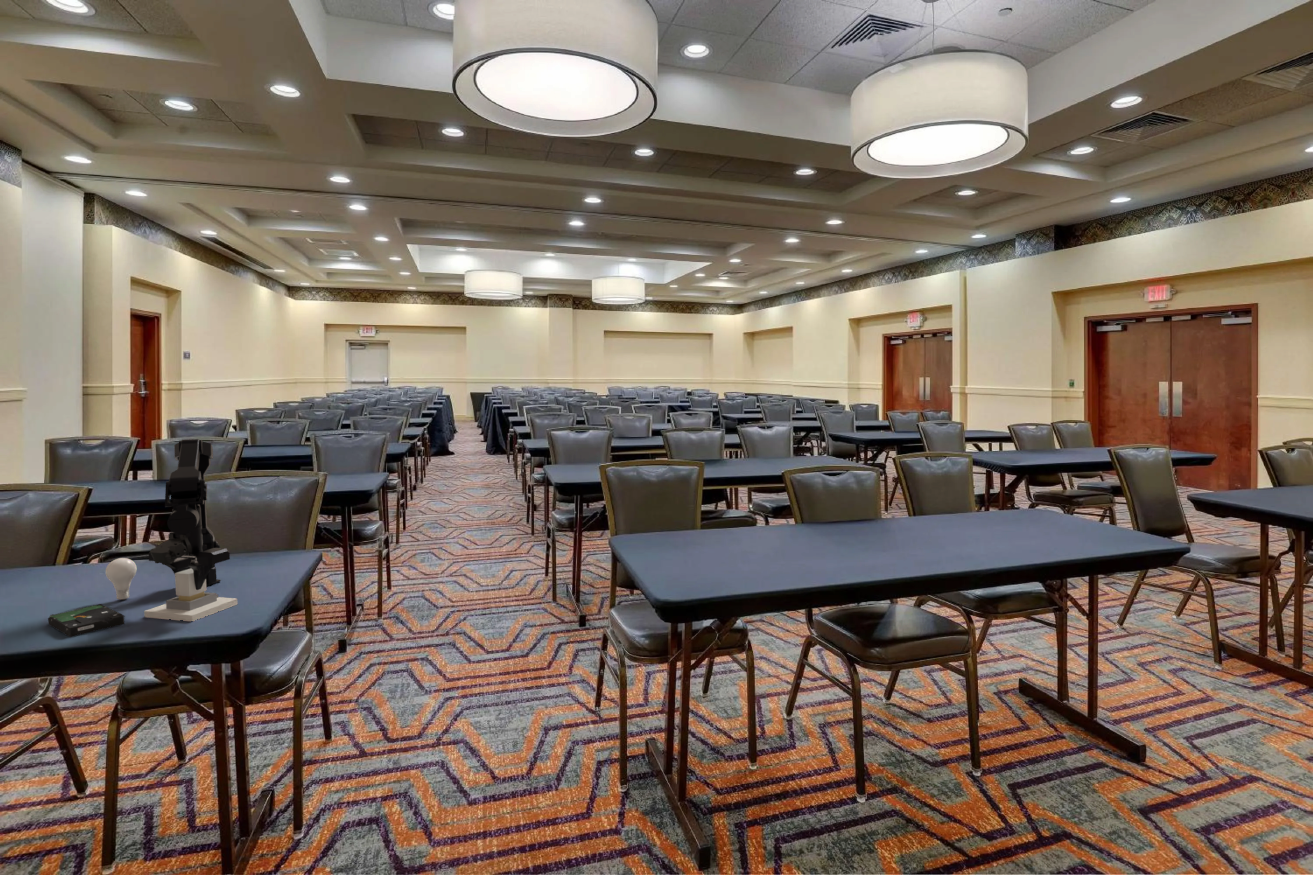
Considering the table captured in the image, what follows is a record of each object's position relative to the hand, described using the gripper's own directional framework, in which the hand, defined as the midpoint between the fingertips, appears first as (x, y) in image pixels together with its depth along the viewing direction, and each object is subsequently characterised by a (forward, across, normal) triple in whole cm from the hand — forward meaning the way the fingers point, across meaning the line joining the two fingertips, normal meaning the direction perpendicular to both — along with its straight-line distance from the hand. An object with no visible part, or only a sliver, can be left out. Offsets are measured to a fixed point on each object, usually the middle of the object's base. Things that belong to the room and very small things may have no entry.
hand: (191, 588), depth 169 cm
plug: (+3, 0, 0) cm, 3 cm away
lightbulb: (+6, -25, +3) cm, 26 cm away
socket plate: (+6, 0, 0) cm, 6 cm away
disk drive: (+6, -16, -13) cm, 22 cm away
